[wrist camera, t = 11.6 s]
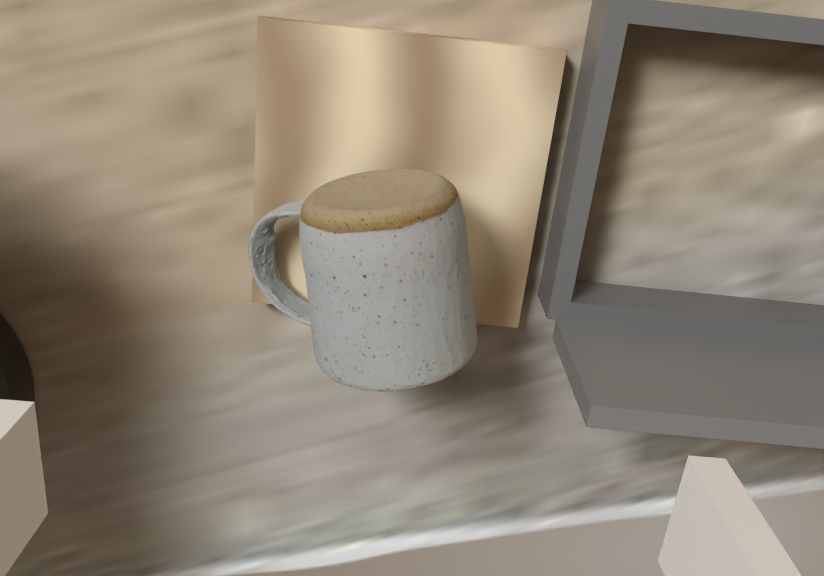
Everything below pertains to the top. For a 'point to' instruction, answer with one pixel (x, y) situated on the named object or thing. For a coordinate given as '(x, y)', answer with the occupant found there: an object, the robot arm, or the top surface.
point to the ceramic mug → (378, 278)
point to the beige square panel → (409, 135)
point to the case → (674, 310)
